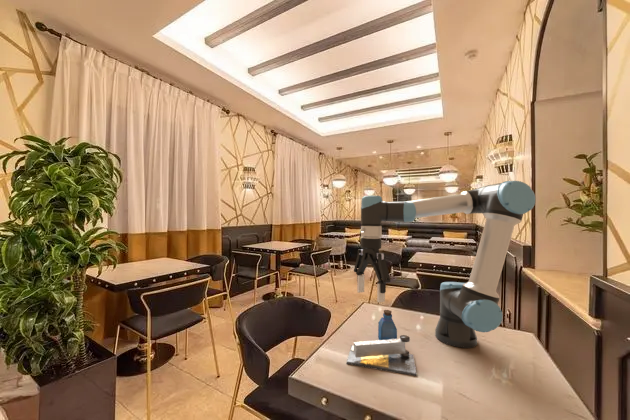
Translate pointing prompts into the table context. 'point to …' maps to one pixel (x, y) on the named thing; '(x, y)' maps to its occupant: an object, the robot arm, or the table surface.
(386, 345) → the swing arm
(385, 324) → the perfume bottle
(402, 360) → the tray
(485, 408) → the table surface
